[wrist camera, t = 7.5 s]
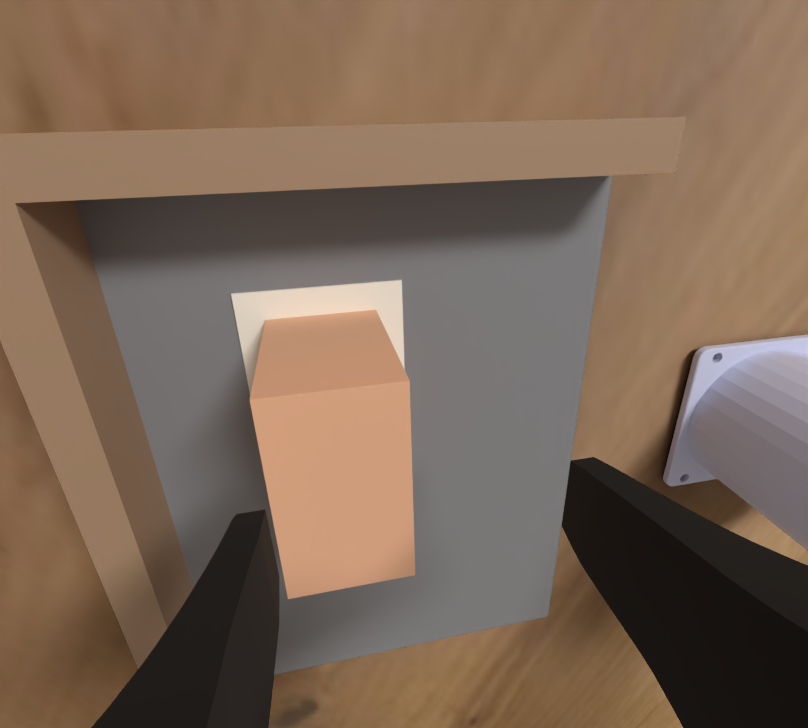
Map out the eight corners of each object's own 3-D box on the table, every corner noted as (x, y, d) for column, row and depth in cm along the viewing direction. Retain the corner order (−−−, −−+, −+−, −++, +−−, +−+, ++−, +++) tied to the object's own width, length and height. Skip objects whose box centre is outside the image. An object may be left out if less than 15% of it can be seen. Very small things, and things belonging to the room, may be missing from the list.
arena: (606, 123, 17) (686, 116, 14) (541, 604, 28) (576, 671, 25) (11, 138, 14) (-86, 135, 11) (195, 676, 25) (178, 765, 21)
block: (385, 463, 21) (415, 575, 15) (291, 477, 20) (288, 599, 15) (375, 309, 18) (409, 380, 12) (265, 319, 17) (249, 399, 12)
